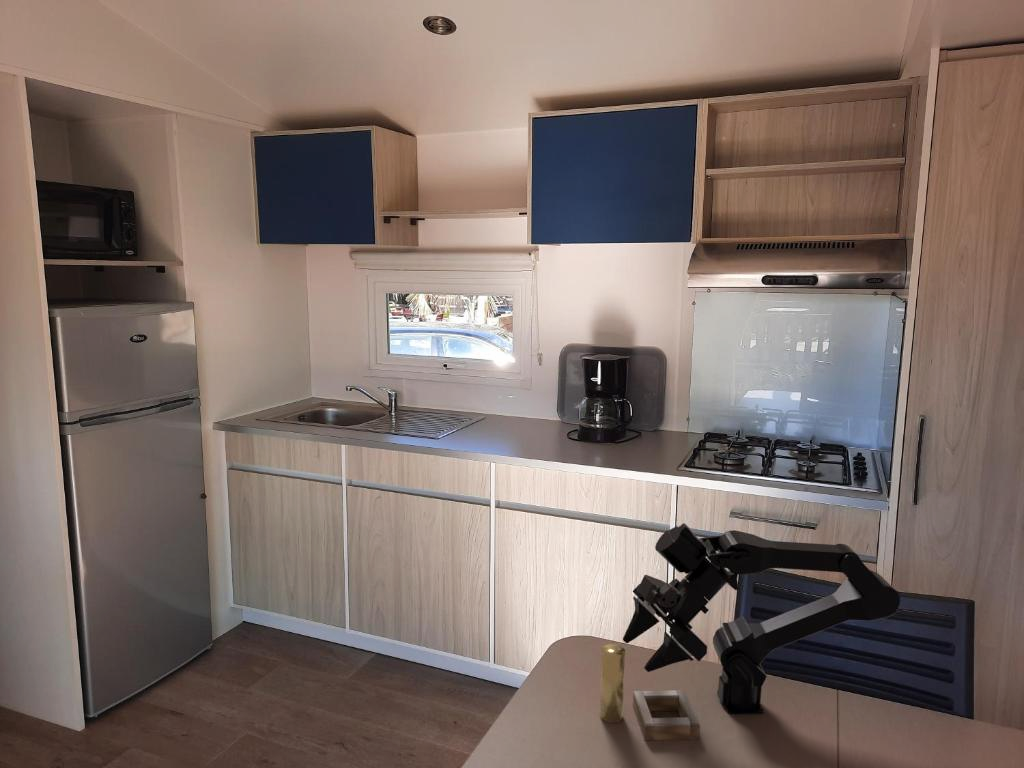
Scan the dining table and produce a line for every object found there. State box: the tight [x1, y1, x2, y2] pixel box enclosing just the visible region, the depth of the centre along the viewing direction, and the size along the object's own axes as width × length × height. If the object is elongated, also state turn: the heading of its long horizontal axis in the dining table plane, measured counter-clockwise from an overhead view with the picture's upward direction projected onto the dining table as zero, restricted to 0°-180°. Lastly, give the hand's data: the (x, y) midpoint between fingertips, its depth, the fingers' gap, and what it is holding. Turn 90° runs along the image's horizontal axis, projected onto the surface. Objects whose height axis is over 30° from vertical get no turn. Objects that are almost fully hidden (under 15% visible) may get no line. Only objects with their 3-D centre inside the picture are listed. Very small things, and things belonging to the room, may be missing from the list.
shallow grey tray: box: [632, 689, 701, 741], centre depth 125 cm, size 9×9×3 cm
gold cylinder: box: [599, 643, 626, 724], centre depth 126 cm, size 4×4×12 cm
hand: (634, 655), depth 126 cm, fingers open, 9 cm apart
